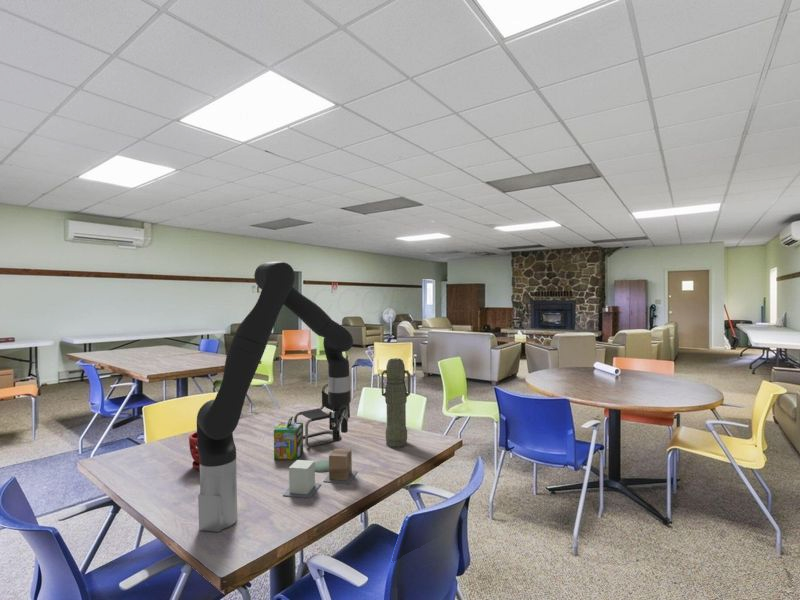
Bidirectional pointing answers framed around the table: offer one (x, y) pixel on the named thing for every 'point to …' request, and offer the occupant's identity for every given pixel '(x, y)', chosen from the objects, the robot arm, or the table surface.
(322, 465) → the rubber coaster
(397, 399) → the thermos
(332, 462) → the walnut block
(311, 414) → the chair
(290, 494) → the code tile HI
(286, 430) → the chalk box
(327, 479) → the tile
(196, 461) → the plant pot
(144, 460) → the table surface
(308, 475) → the sage block
